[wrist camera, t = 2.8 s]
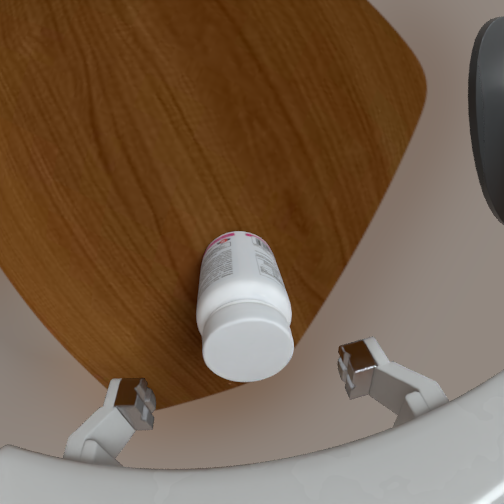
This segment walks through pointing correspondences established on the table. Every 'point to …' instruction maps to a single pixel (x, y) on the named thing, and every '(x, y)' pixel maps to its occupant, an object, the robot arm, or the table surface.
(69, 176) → the table surface
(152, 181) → the table surface
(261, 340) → the pill bottle
